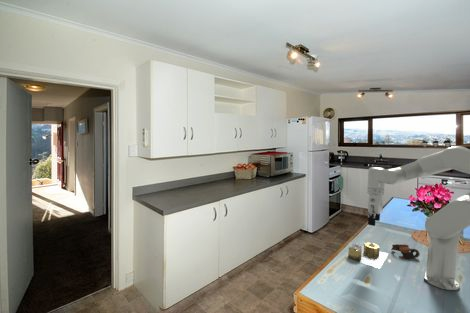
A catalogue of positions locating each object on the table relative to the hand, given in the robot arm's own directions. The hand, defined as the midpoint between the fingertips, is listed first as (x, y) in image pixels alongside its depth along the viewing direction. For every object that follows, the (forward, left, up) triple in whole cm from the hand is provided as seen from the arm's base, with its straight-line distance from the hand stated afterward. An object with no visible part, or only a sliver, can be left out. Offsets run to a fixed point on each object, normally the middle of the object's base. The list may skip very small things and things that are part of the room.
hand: (373, 222), depth 126 cm
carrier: (-4, +3, -18) cm, 19 cm away
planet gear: (0, 0, -17) cm, 17 cm away
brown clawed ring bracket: (+2, -16, -19) cm, 25 cm away
